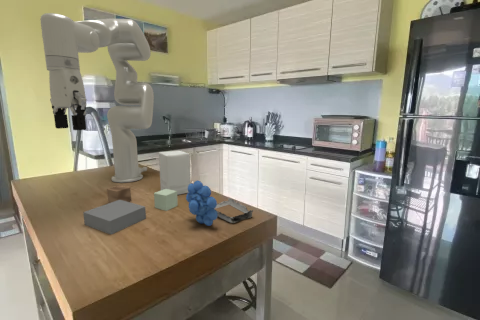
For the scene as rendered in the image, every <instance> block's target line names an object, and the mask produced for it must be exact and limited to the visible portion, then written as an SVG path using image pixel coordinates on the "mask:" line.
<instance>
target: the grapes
mask: <svg viewBox="0 0 480 320" xmlns="http://www.w3.org/2000/svg"><path fill="white" fill-rule="evenodd" d="M188 192H189V193H186V196H185V199H186V201H187V202H188V210H189V212H190V214H192V215H193V216H195V220H196V221H197V222H198V223H199V224H201V225H202V224H204V225H205V226H208V227H210V226H212V225H213V222H214V221H216V220H217V219H218V214H217V211H218V210H216V209H214V208H215V207H216V205H217V203H218V202H217V199H216V198H215V197H214V196H211V194H212V190H211V188H210V187H209V186H208V185H207V184H206V185H204V184H203V182H201V181H200V180H195V181H194V182H193V183H191V182H190V184H189V185H188Z"/></svg>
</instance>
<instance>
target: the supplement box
mask: <svg viewBox="0 0 480 320" xmlns="http://www.w3.org/2000/svg"><path fill="white" fill-rule="evenodd" d="M158 162H159V166H158V167H159V179H160V180H159V182H160V191H161V190H164V189H169V190H174V191H177V196H178V195H183V194H188V193H189V192H188V185H189V184H191V154H190V153H189V152H186V151H183V150H173V151H172V150H171V151H159V152H158Z"/></svg>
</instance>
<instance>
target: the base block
mask: <svg viewBox="0 0 480 320" xmlns="http://www.w3.org/2000/svg"><path fill="white" fill-rule="evenodd" d="M146 211H147V210H146V206H144V205H141V204H137V203H133V202H127V201H123V200H117V201H114V202H111V203H106V204H104V205H103V204H102V205H100V206H97V207H94V208H92V209H88V210H85V211H83V213H82V215H83V220H84V225H85V226H87V227H89V228H91V229H94V230H97V231H100V232H103V233H105V234H108V235H113V234H116V233H118V232H120V231H122V230H124V229H126V228H129V227H131V226H133V225H135V224H137V223H140V222H142V221H144V220H146V219H147V212H146Z"/></svg>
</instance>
